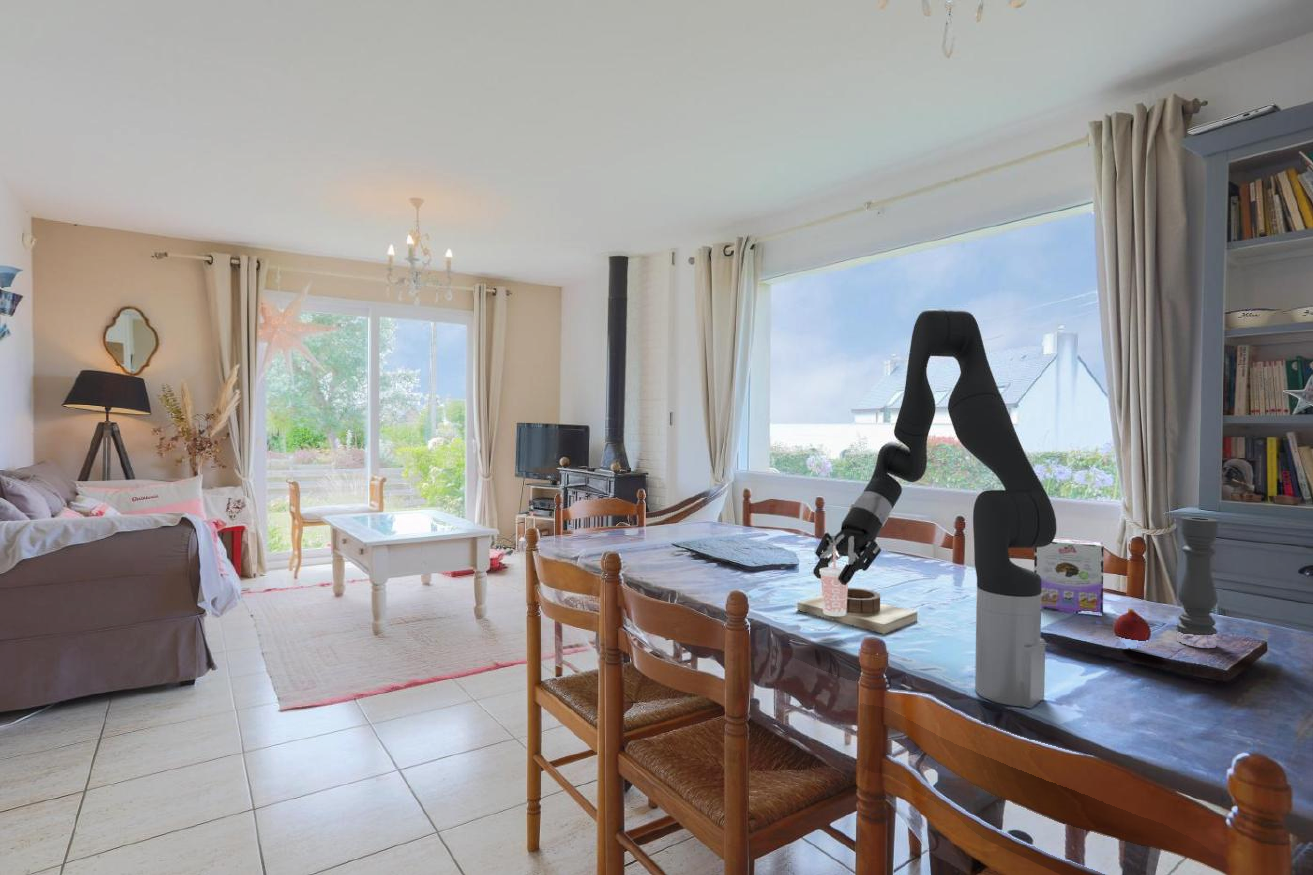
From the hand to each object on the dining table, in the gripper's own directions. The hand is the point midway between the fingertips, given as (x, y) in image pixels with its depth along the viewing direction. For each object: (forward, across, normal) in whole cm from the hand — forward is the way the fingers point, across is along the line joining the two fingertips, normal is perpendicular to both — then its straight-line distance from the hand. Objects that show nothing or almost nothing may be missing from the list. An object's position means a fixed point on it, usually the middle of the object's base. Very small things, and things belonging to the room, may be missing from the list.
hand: (828, 579), depth 136 cm
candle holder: (-33, +43, +50) cm, 74 cm away
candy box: (-35, +17, +52) cm, 65 cm away
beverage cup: (+4, 0, +6) cm, 8 cm away
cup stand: (-3, -6, +20) cm, 21 cm away
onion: (-22, +38, +40) cm, 59 cm away
